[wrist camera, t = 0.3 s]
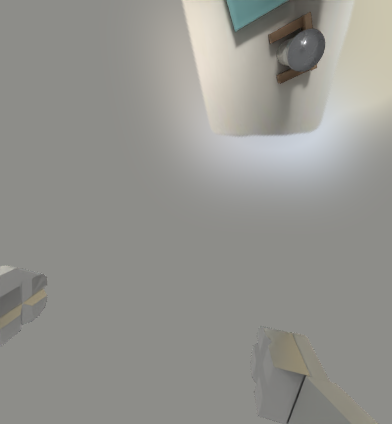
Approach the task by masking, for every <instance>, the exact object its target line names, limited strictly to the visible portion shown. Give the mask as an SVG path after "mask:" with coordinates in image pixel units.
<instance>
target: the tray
mask: <svg viewBox="0 0 392 424" xmlns="http://www.w3.org/2000/svg"><path fill="white" fill-rule="evenodd" d="M226 1H227V5H228V8H229V12H230V16H231V19H232V23H233V27H234V30H235V32H236V31H238V30H240V29H241V28H243V27H245V26H246V25H248V24H250V23H252V22H253V21H255V20H257V19H258V18H260V17H262V16H263V15H265V14H267V13H269V12H270V11H272V10H274V9H275V8H277V7H279V6H280V5H282V4H284V3H286V2H287V1H289V0H226Z"/></svg>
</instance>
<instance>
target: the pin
mask: <svg viewBox="0 0 392 424" xmlns="http://www.w3.org/2000/svg"><path fill="white" fill-rule="evenodd" d="M324 49H325V39H324V36H323V34H322V33H321V32H320V31H319V30H317V29H307V30H304V31H302V32H300V33H298V34H297V35H296V36H295V37H294V38H290V39H287V40H285V41H284V42H283V43H282V44H281V45H280V47H279V49H278V51H277V59H278V61H279V63H280V64H282V65H285V66H289V67H290V68H291V69H293V70H294V71H298V72H304V71H307V70H309V69H311V68H313V67H314V66H315V65H316V64H317V63H318V62H319V60H320V59H321V57H322V55H323V53H324Z"/></svg>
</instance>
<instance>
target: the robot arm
mask: <svg viewBox="0 0 392 424" xmlns="http://www.w3.org/2000/svg"><path fill="white" fill-rule="evenodd" d="M46 285H47V277H46V276H45V275H44V274H41V273H37V272H33V271H29V270H26V269H22V268H17V267H13V266H9V265H8V266H7V265H6V266H1V267H0V346H2V345H4V344H5V343H6V342H7V341H8V340H10V339H11V338H12V337H13V336H15V335H16V334H17V333H18V332H20V331H21V328H22V325H23V324H26V323H29V322H32V321H33V320H34V319H35V318H37V317H38V316H39V315H40V313H41V312H42V311H43V309H44V308H45V305H46V302H47V294H46V292H45V291H44V288H45V287H46ZM257 339H258V343H257V344H255V345H254V346H253V350H252V355H251V374H252V378H253V380H254V381H255V382H256V387H255V391H254V394H255V400H256V407H257V414H258V416H260V417H263V418H266V419H269V420H272V421H276V422H279V423H282V424H378V423H377V422H376V421H375V420H374V419H373V418H372V417H371V416H370V415H369V414H367V412H366V411H364V409H362V408H361V407H360V406H359V405H358V404H357V403H356V402H355V401H354V400H353V399H352V398H351V397H350V396H349V395H348V394H347V393H345V392H344V391H343V390H342V389H341V388H340V387H339V386H338V385H337V384H336V383H332V382H330V380H329V378H328V376H327V374H326V372H325V371H324V368H323V367H322V365H321V363H320V361H319V359H318V357H317V355H316V353H315V351H314V349H313V347H312V345H311V343H310V341H309V339H308V338H307V337H306V336H305V335H301V334H297V333H292V332H285V331H281V330H276V329H272V328H268V327H264V326H260V328H259V329H258V332H257Z"/></svg>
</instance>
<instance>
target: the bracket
mask: <svg viewBox="0 0 392 424" xmlns="http://www.w3.org/2000/svg"><path fill="white" fill-rule="evenodd" d="M299 28H301V32H302V31H304V30H307V29H313V27H312V18H311V12H309V13H307V14H306V15H304V16H302V17H300V18H298V19H296V20H295V21H293V22H291V23H289V24H287V25H286V26H284V27H282V28H280V29H278V30H277V31H275V32H273V33H271V34H269V35H268V37H269V42H270V44H271V43H273V42H275V41H277V40H279V39H281V38H283V37H284V36H286V35H288V34H290V33H292V32H294V31H296V30H298V29H299ZM315 68H317V64H316V65H315V66H314V67H313V68H311V69H309V70H313V69H315ZM309 70H307V71H309ZM304 72H306V71H304ZM304 72H298V71H294V70H293V69H288V70H286V71H284V72H282V73H280V74H278V75H276V76H277V80H278V83H280V84H281V83H283V82H285V81H287V80H289V79H291V78H294V77H296V76H298V75H300V74H302V73H304Z"/></svg>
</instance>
